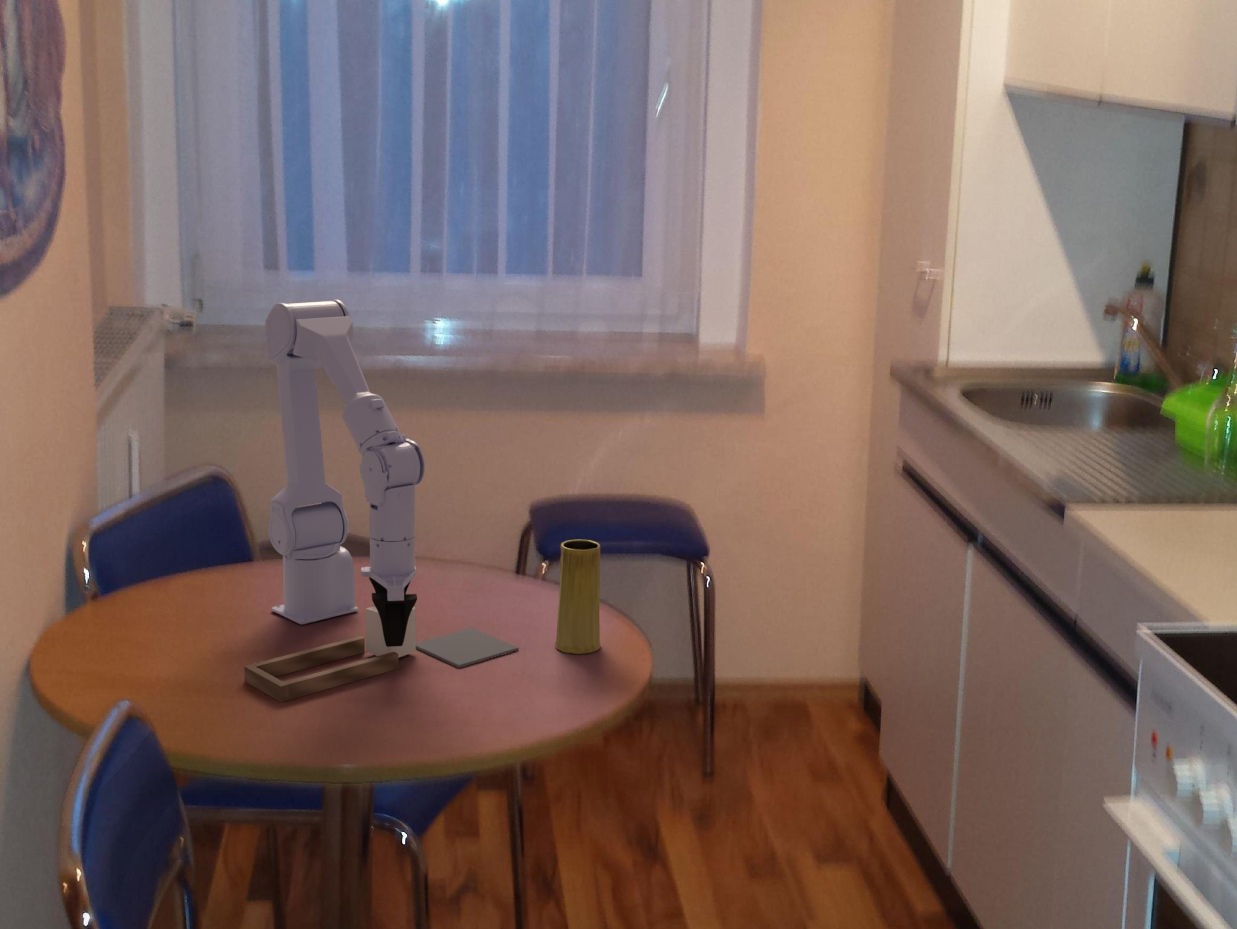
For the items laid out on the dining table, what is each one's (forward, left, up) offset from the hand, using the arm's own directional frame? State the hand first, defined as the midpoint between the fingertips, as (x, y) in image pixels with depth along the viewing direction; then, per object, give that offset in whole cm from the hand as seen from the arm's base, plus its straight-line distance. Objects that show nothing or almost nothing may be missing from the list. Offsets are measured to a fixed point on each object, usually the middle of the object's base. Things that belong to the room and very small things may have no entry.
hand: (392, 635), depth 185 cm
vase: (-21, +13, -3) cm, 25 cm away
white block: (0, 0, -2) cm, 2 cm away
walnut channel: (+11, 0, -3) cm, 11 cm away
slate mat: (-9, +4, -3) cm, 10 cm away
